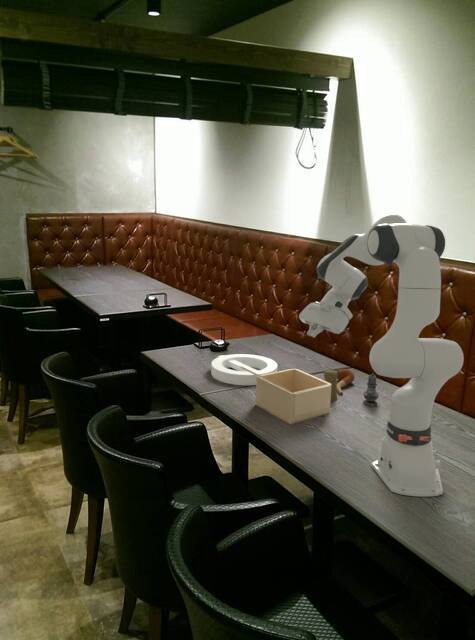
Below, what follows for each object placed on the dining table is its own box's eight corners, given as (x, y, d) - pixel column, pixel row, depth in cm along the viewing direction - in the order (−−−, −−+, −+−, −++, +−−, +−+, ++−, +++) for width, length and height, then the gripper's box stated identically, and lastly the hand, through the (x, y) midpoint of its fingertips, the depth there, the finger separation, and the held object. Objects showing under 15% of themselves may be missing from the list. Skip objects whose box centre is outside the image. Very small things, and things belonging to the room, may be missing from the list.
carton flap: (258, 374, 203) (241, 366, 198) (290, 390, 189) (272, 381, 184) (257, 376, 203) (240, 367, 198) (289, 391, 189) (271, 383, 183)
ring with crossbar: (273, 388, 225) (274, 377, 224) (205, 383, 229) (205, 371, 228) (279, 366, 252) (280, 356, 251) (218, 362, 256) (218, 352, 255)
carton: (293, 394, 218) (295, 367, 215) (331, 413, 201) (333, 384, 198) (254, 404, 207) (255, 376, 205) (291, 425, 190) (293, 394, 188)
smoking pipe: (353, 381, 236) (354, 367, 234) (354, 396, 218) (355, 382, 217) (336, 379, 237) (337, 366, 236) (335, 395, 219) (336, 381, 218)
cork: (319, 399, 214) (320, 371, 211) (324, 394, 219) (326, 367, 217) (334, 402, 211) (336, 374, 209) (339, 397, 216) (341, 370, 214)
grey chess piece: (378, 406, 209) (381, 375, 206) (362, 404, 210) (364, 374, 207) (378, 400, 214) (380, 370, 211) (362, 399, 215) (364, 369, 212)
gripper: (308, 295, 211) (287, 323, 208) (348, 306, 195) (325, 337, 192) (317, 306, 215) (296, 334, 211) (356, 317, 198) (334, 347, 195)
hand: (310, 335), depth 201 cm, fingers closed
